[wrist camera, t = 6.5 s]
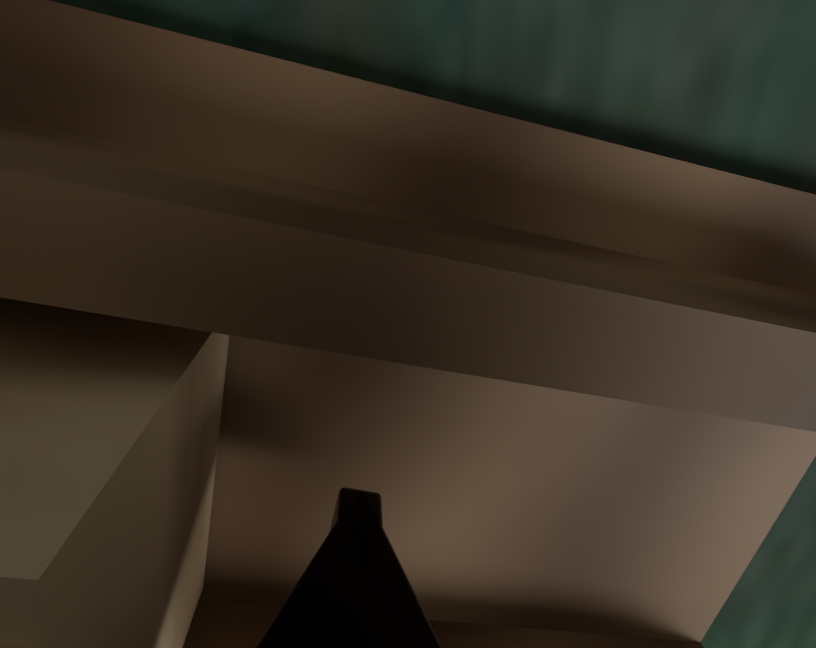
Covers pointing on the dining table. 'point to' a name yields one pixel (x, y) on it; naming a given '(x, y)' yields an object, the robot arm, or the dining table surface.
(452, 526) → the bay
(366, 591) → the robot arm
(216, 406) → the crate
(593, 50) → the dining table surface
